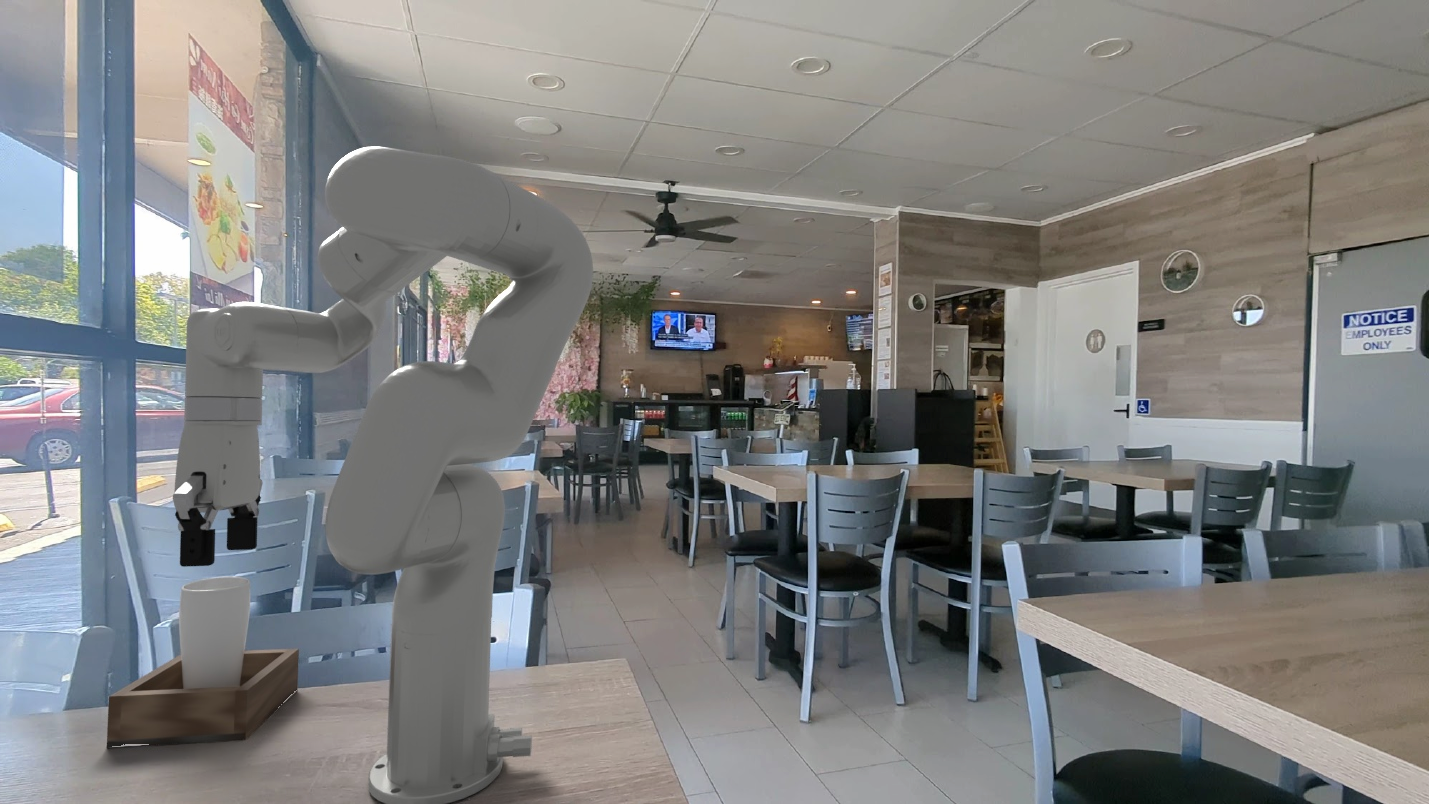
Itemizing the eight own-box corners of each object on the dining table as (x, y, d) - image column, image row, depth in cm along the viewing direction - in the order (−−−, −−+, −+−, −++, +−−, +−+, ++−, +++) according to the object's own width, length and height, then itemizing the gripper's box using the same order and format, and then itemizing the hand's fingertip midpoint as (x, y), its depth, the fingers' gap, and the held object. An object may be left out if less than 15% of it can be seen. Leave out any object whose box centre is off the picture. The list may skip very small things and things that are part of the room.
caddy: (297, 691, 87) (298, 648, 87) (245, 740, 74) (247, 690, 74) (181, 696, 85) (183, 652, 85) (106, 748, 72) (108, 696, 72)
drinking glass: (260, 700, 82) (264, 578, 83) (212, 725, 76) (217, 593, 76) (210, 695, 83) (215, 574, 83) (159, 720, 77) (164, 588, 77)
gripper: (227, 414, 88) (224, 545, 88) (141, 412, 71) (136, 574, 71) (290, 414, 90) (287, 543, 89) (220, 412, 73) (216, 571, 72)
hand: (220, 557), depth 80 cm, fingers open, 9 cm apart
